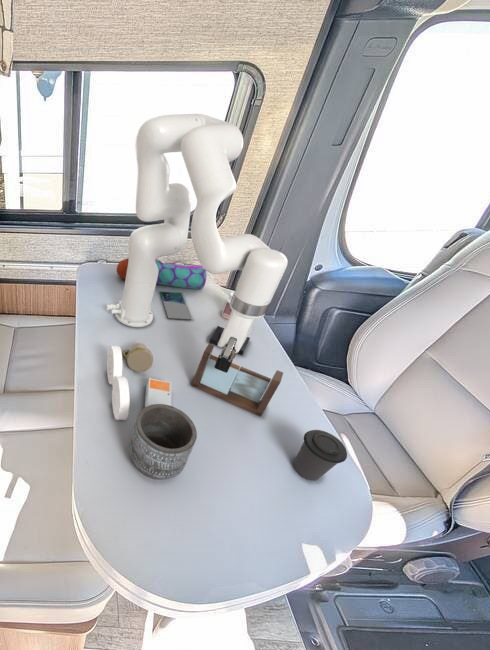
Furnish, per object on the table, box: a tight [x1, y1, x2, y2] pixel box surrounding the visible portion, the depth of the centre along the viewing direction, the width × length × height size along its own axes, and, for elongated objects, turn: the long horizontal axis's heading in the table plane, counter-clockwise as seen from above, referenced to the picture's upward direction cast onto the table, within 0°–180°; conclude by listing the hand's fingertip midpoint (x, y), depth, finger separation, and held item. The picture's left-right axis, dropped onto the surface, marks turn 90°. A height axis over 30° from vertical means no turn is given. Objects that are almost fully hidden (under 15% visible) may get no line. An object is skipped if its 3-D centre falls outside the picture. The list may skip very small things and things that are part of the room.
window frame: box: [191, 343, 284, 417], centre depth 100 cm, size 18×4×12 cm, turn 55°
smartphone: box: [160, 291, 192, 321], centre depth 137 cm, size 8×1×16 cm
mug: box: [122, 342, 154, 373], centre depth 111 cm, size 8×10×10 cm
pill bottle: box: [221, 291, 234, 320], centre depth 131 cm, size 5×5×8 cm
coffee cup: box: [292, 429, 348, 482], centre depth 84 cm, size 8×8×10 cm
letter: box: [106, 345, 131, 421], centre depth 100 cm, size 22×2×10 cm, turn 0°
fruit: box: [116, 257, 129, 280], centre depth 148 cm, size 9×9×8 cm
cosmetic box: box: [144, 377, 173, 408], centre depth 99 cm, size 6×4×12 cm
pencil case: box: [155, 257, 207, 290], centre depth 145 cm, size 21×9×10 cm, turn 76°
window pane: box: [200, 349, 241, 394], centre depth 100 cm, size 7×1×13 cm, turn 55°
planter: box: [128, 404, 198, 481], centre depth 83 cm, size 12×12×13 cm
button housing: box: [208, 325, 251, 356], centre depth 121 cm, size 10×8×4 cm
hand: (224, 362), depth 98 cm, fingers open, 5 cm apart
